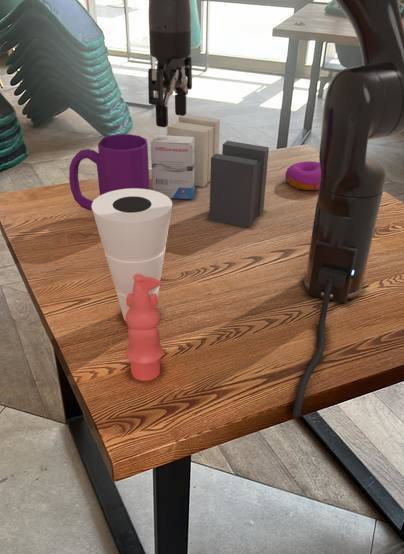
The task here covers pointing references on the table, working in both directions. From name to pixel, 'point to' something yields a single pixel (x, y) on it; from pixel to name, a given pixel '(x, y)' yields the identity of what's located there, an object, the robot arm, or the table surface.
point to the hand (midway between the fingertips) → (171, 120)
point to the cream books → (199, 142)
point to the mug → (114, 166)
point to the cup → (133, 235)
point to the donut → (304, 175)
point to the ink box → (173, 166)
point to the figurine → (143, 329)
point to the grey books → (238, 183)
